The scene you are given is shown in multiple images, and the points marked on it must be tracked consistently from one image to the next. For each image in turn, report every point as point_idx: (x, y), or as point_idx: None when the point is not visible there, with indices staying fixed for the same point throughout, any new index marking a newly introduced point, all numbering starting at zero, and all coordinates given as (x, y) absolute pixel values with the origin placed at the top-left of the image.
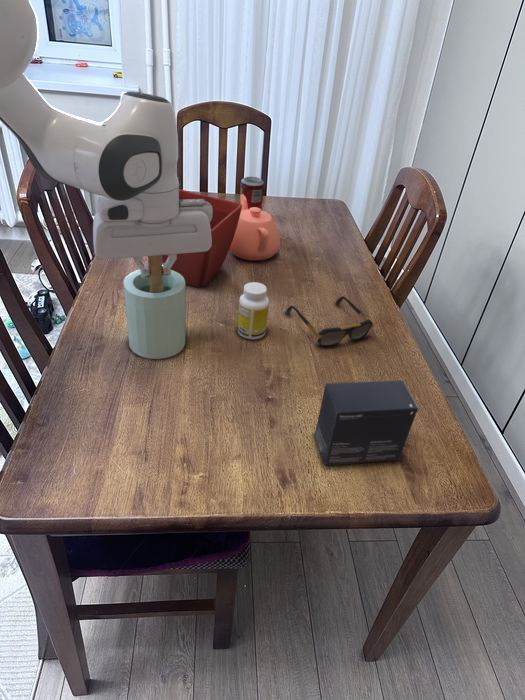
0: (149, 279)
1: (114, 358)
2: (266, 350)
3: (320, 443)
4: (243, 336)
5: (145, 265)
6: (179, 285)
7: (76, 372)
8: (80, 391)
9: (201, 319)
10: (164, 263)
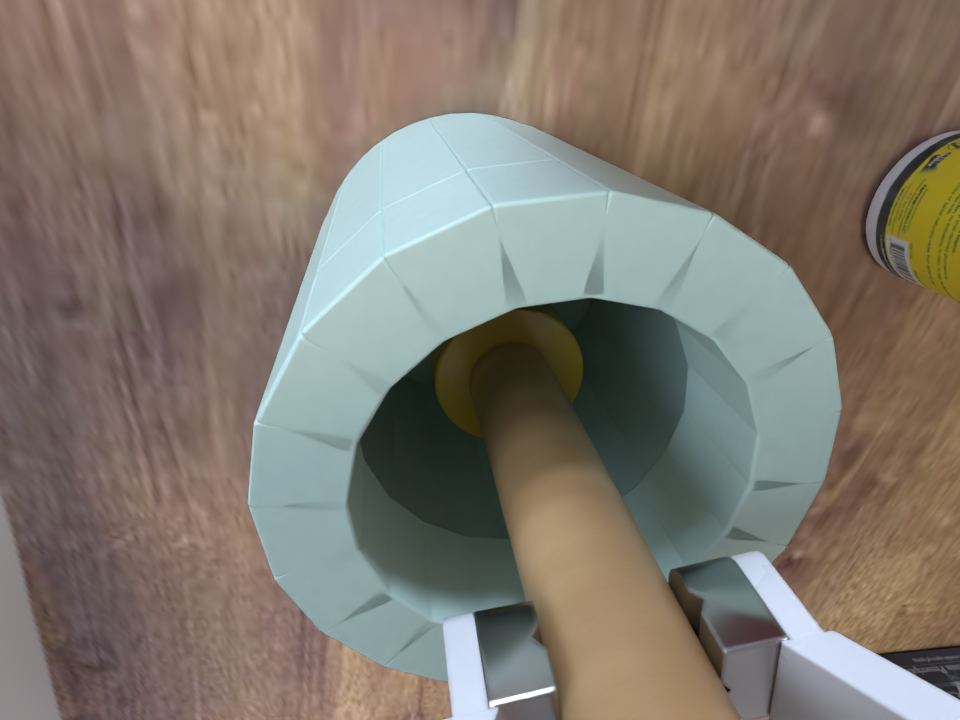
0: (523, 590)
1: (268, 378)
2: (913, 340)
3: None
4: (875, 259)
5: (523, 713)
6: (759, 530)
7: (120, 460)
8: (175, 549)
9: (733, 54)
10: (766, 652)
